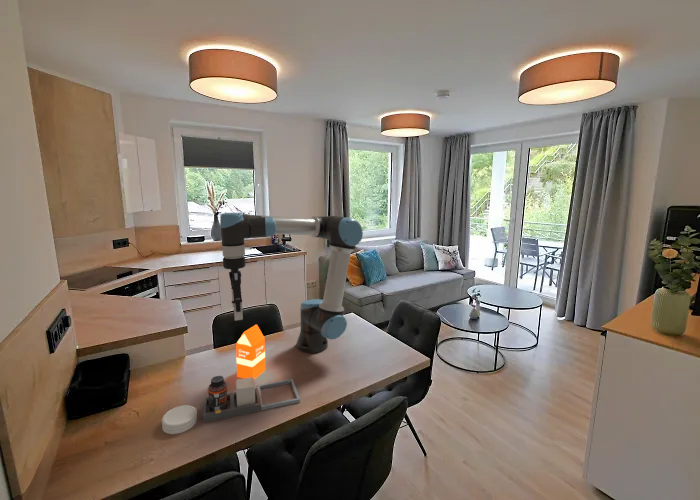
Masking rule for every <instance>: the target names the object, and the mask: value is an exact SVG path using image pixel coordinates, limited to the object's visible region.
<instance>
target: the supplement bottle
mask: <svg viewBox="0 0 700 500" xmlns="http://www.w3.org/2000/svg"><path fill="white" fill-rule="evenodd" d="M224 379H225V378H224V376H223V375H217V376H213V377H212V378H211V379H210V383H209V385H208V389H207V390H208V392H207V393H208V397H209V411H210V412H214V411H215V410H220V409H221V410H224V409H227V406H228V402H227V400H228V399H227V393H228V383H226V381H225V380H224Z"/></svg>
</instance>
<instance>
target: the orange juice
mask: <svg viewBox="0 0 700 500" xmlns="http://www.w3.org/2000/svg"><path fill="white" fill-rule="evenodd" d="M265 340H266V338H265V336H264V335H263V333H262V331H261V329H260V327H259V326H258V324H254V325H253V326H251V327H250V328H248V329H247V330H245V331H243V333H242V334H241V336H240V338H239V339H238V340H237V342H236V343H235V347H236V349H235V350H236V351H235V352H236V353H235V354H236V356H235V357H236V378H240V379H244V378H250V377H254V380H255V379H257V378H258V377H259V376H260V375H262V374H263V373H264V372H265V371H266V341H265Z"/></svg>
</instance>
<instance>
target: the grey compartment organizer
mask: <svg viewBox="0 0 700 500" xmlns="http://www.w3.org/2000/svg"><path fill="white" fill-rule="evenodd" d="M255 384H256V383H255V379H254V377H250V378H240V379H236V380H235V391H234V392H227V399H228V400H227V402H228V406H227V409H224V410H221V409H220V410H215V411H214V412H210V411H209V396H206V397H204V401H203V413H202V414H203V415H202V420H203V424H204V423H207V422H214V421H218V420H222V419H226V418H232V417H237V416H242V415H247V414H251V413H256V412H260V411H261V407H260V400H259V394H258V388H257V387H256V385H255Z"/></svg>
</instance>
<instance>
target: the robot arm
mask: <svg viewBox="0 0 700 500" xmlns="http://www.w3.org/2000/svg"><path fill="white" fill-rule="evenodd" d="M219 219H220V220H219V221H220V223H219V224H220V225H219V228H220V237H221V239H220V240H221V247H220V248H219V249H220V251H221V252H222V256H223V257H222V265H223V267H222V268H223V269H225V270H230V271H229V272H228V276H229V280H230V286H231V304H232V308H233V314H234V321H242V320H243V319H244V317H243V313H244V312H243V299H242V298H243V297H242V289H241V288H242V286H241V284H242V273H241V270H240V269H243V268H245V267H246V257H245V255H246V246H245V240H249V239H257V238H258V239H259V238H260V239H261V238H269V237H273V236H275V235H293V236H295V235H299V236H310V237H312V238H319V239H322V240H327V241H329V243H328V246H329V248H330V249H331V252H330V253H331V254H330V258H329V264H328V268H327V269H328V270H327V277H326V280H325V287H324V292H323V293H324V294H323V299H320V298H317V299H316V298H315V299H314V298H313V299H307V300H304V301H302V302H301V303H300V308H299V309H300V310H299V311H300V332H299V334H298V337H297V341H296V348H297V349H298V350H299V351H300V352H303V353H307V354H314V353H316V354H317V353H321V352H324V351H325V350H326V349H328V345H329V340H336V339H339V338H340V337H341V336H342V335H343V334H344V333H345V332H346V329H347V326H348V322H347V321H348V320H347V319H346V317H345V316H344V312H345V308H344V307H343V299H344V293H345V292H344V291H345V287H346V283H347V282H346V281H347V276H348V269H349V266H350V258H351V253H353V252H354V251H356V250H355V249H356V246H357V245H359V244H360V242H361V241H362V239H363V234H364V233H363V227H362V225H361V223H360V222H359V221H358V220H357V219H355V218H352V217H347V216H346V217H344V216H336V215H326V216H312V217H309V218H307V217H294V216H293V217H291V216H289V217H288V216H275V215H274V216H273V215H255V214H248V213H242V212H224V213H222V214H220V218H219Z"/></svg>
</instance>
